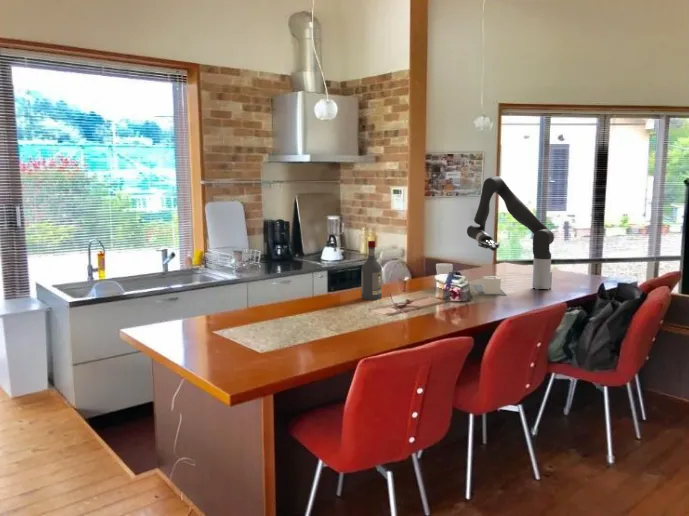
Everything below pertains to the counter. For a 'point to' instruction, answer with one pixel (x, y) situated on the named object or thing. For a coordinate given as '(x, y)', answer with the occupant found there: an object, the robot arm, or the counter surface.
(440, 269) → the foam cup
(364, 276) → the liquor
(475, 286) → the rubber mat
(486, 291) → the off-white cube
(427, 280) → the counter surface
